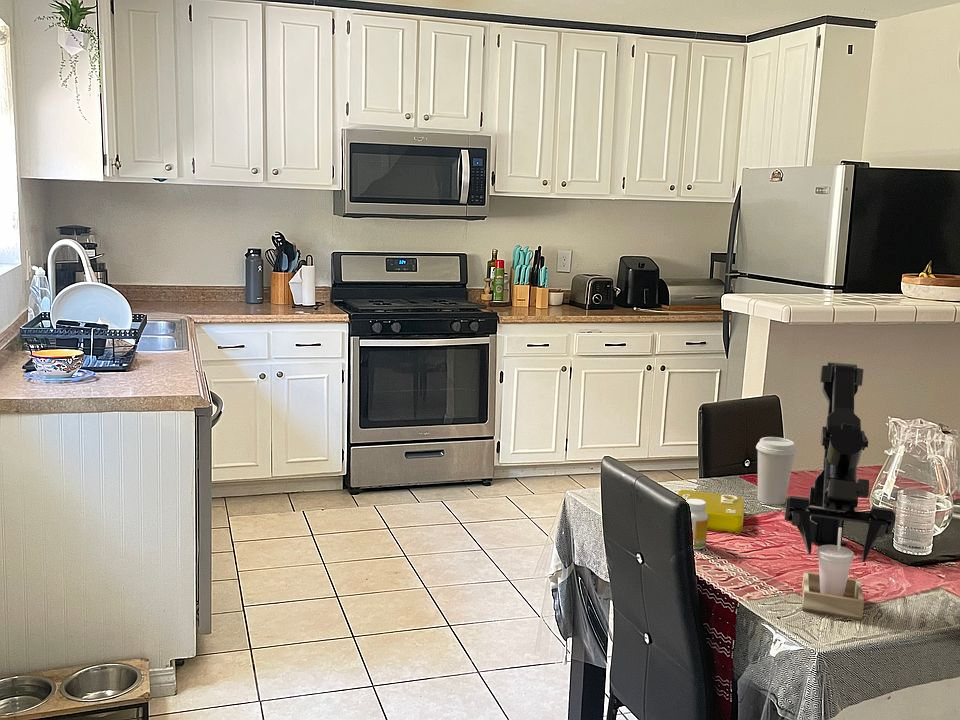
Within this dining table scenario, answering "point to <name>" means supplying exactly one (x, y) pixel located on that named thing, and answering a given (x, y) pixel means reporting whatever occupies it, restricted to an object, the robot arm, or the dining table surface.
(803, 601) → the cup holder
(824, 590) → the smoothie
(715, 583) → the dining table surface
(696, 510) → the supplement bottle
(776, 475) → the coffee cup
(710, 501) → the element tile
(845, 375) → the robot arm
